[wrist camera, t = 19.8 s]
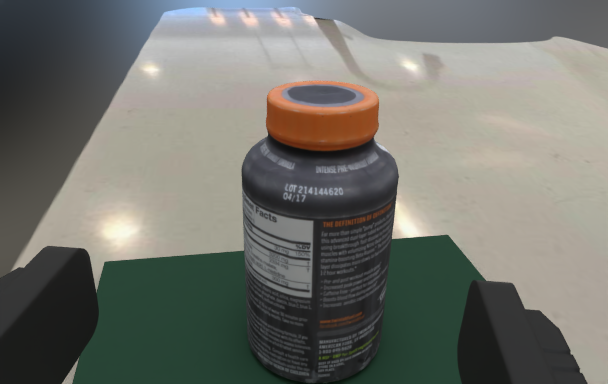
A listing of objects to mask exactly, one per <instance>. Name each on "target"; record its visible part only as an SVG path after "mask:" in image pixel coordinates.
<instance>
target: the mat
mask: <svg viewBox="0 0 608 384" xmlns="http://www.w3.org/2000/svg"><path fill="white" fill-rule="evenodd" d="M473 280H481V281H486V280H485V279H484V278H483V277H482V275H481V274H480V273H479V272H478V271H477V269H476V268H475V267H474V266H473V265H472V263H471V262H470V261H469V260H468V259H467V257H466V256H465V255H464V254H463V252H462V251H461V250H460V249H459V248H458V246H457V245H456V244H455V243H454V242H453V240H452V239H451V238H450V237H449V236H448V235H440V236H427V237H414V238H402V239H392V241H391V251H390V259H389V269H388V277H387V285H386V295H385V305H384V316H383V325H382V336H381V341H380V344H379V347H378V350H377V353H376V355H375V356H374V358H373V359H372V360H371V361H370V363H369V365H368V366H366V367H365V368H364V369H362V370H361V371H359V372H358V373H356V374H354V375H352V376H350V377H348V378H344V379H341V380H338V381H333V382H326V383H306V382H299V381H295V380H291V379H288V378H285V377H283V376H280V375H278V374H276V373H274V372H273V371H271V370H269V369H267V368H266V367H265V366H264V365H263V364H262V363H261V362H260V361H259V360H258V359H257V357H256V356H255V355H254V353H253V352H252V350H251V348H250V345H249V342H248V337H247V309H246V281H245V255H244V251H236V252H223V253H210V254H198V255H185V256H172V257H159V258H147V259H134V260H121V261H108V262H105V263H104V266H103V270H102V274H101V278H100V282H99V285H98V289H97V293H96V294H97V300H98V306H99V317H98V323H97V327H96V330H95V332H94V334H93V336H92V338H91V339H90V341H89V343H88V344H87V346H86V347H85V349H84V350H83V352H82V353H81V355H80V357H79V361H78V364H77V368H76V372H75V376H74V379H73V383H72V384H462V382H461V378H460V374H459V369H458V360H457V346H458V338H459V333H460V328H461V324H462V319H463V314H464V310H465V305H466V300H467V296H468V291H469V287H470V284H471V282H472V281H473Z"/></svg>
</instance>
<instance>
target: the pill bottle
mask: <svg viewBox="0 0 608 384" xmlns="http://www.w3.org/2000/svg"><path fill="white" fill-rule="evenodd" d="M378 110H379V99H378V96H377V94H376V93H375V92H373V91H372V90H370V89H368V88H365V87H362V86H359V85H355V84H350V83H344V82H333V81H303V82H295V83H288V84H284V85H281V86H278V87H275V88H274V89H272V90H271V91H270V92H269V94H268V95H267V118H266V127H267V130H268V137H266V138H264V139H262V140H261V141H259V142H258V143H257V144H255V145H254V146H253V147H252V148H251V149H250V151H249V152H248V153H247V155H246V157H245V159H244V162H243V165H242V197H243V225H244V255H245V281H246V309H247V337H248V342H249V345H250V348H251V350H252V352H253V353H254V355H255V356H256V357H257V359H258V360H259V361H260V362H261V363H262V364H263V365H264V366H265V367H266V368H267V369H269V370H271V371H273V372H274V373H276V374H278V375H280V376H283V377H285V378H288V379H291V380H295V381H299V382H306V383H326V382H333V381H338V380H341V379H344V378H348V377H350V376H352V375H354V374H356V373H358V372H359V371H361V370H362V369H364V368H365V367H366V366H368V365H369V363H370V361H371V360H372V359H373V358H374V356H375V355H376V353H377V350H378V347H379V344H380V341H381V336H382V325H383V316H384V305H385V295H386V285H387V277H388V269H389V259H390V251H391V241H392V231H393V223H394V215H395V204H396V195H397V185H398V178H399V175H398V169H397V165H396V162H395V159H394V158H393V157H392V155H391V154H390V153H389V152H388V151H387V150H386V149H385V148H384V147H383V146H382V145H381V144H379V143H378V142H376V141H375V140H374V135H375V134H376V132H377V130H378V127H379V123H378Z"/></svg>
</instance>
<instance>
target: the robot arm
mask: <svg viewBox="0 0 608 384" xmlns="http://www.w3.org/2000/svg"><path fill="white" fill-rule="evenodd" d="M98 317H99V306H98V300H97V294H96V289H95V283H94V278H93V272H92V267H91V261H90V257H89V254H88V252H87V251H86V250H85V249H82V248H69V247H56V246H47V247H45V248H43V249H42V250H41V251H40V252H39V253H38V254H37V255H36V256H35V257H34V258H33V259H32V260H31V261H30V262H29V263H28V264H27V265H26V266H25V267H24V268H20V267H19V268H17V269H15V270H14V271H12V272H10V273H8V274H7V275H5V276H3V277H1V278H0V384H62V382H63V381H64V379H65V378H66V376H67V375H68V373H69V372H70V370H71V369H72V367H73V366H74V364H75V362H76V361H77V359H78V358H79V356H80V355H81V353H82V352H83V350H84V349H85V347H86V346H87V344H88V343H89V341H90V339H91V338H92V336H93V334H94V332H95V330H96V327H97V323H98ZM457 360H458V369H459V374H460V378H461V382H462V384H587V382H586V380H585V378H584V376H583V374H582V373H580V368H579V366H578V364H577V362H576V360H575V358H574V356H573V355H571V354H570V349H569V347H568V345H567V343H566V341H565V339H564V337H563V335H562V333H561V331H560V329H559V328H558V327H556V326H555V325H554V324H553V323H552V322H551V321H550V320H549V319H548V318H547V317H546V316H545V315H544V314H543V313H542V312H541V311H539V310H526V309H525V308H524V306H523V304H522V302H521V299H520V297H519V295H518V293H517V290H516V288H515V286H514V285H513V284H512V283H507V282H494V281H481V280H473V281H472V282H471V284H470V287H469V291H468V296H467V300H466V305H465V310H464V314H463V319H462V324H461V328H460V333H459V338H458V346H457Z"/></svg>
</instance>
